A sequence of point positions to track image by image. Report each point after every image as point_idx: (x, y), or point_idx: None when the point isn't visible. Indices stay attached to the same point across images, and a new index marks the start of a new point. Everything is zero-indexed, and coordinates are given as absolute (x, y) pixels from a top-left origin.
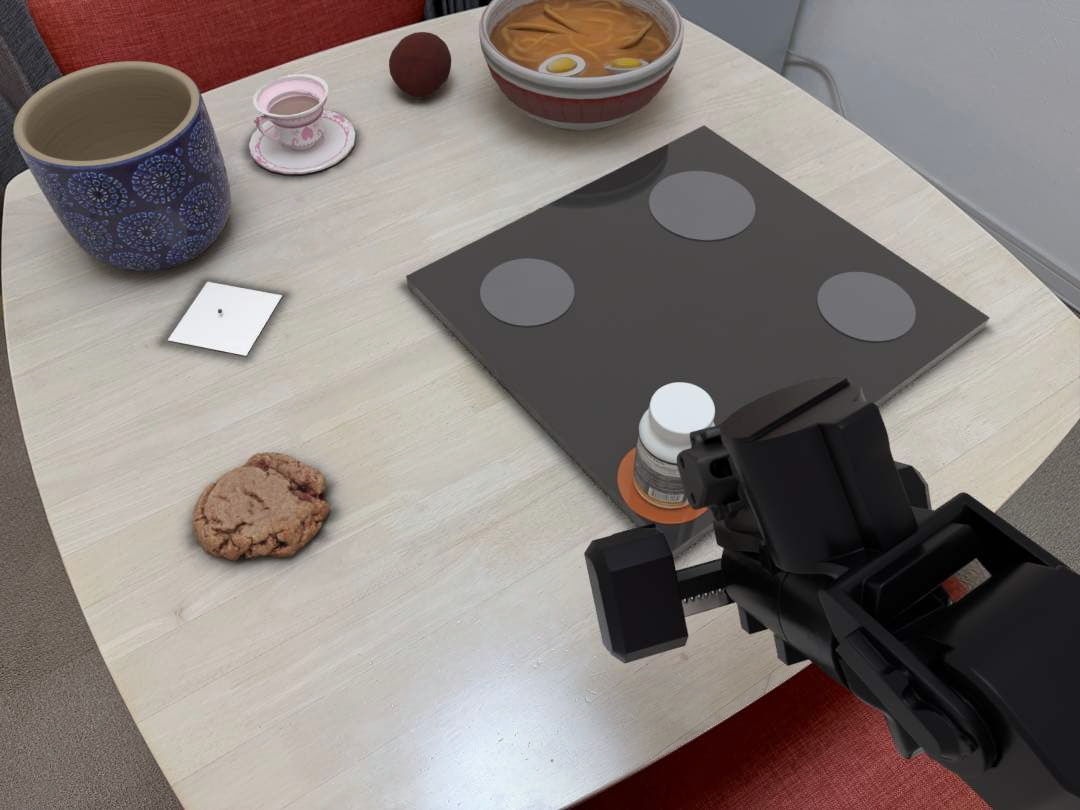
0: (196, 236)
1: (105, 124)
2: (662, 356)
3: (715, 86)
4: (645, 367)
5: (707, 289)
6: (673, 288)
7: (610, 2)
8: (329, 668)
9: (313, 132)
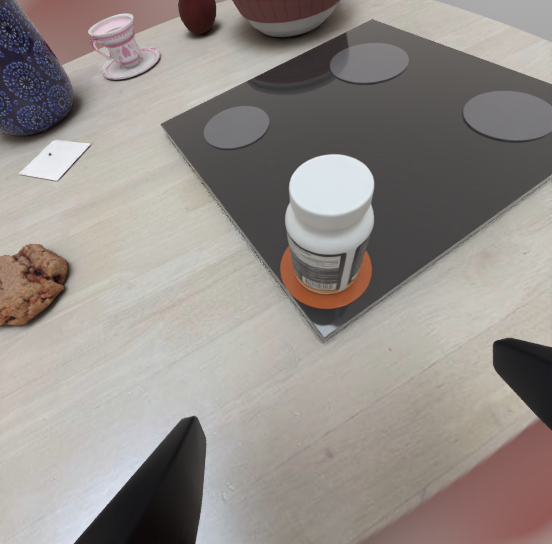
0: (33, 106)
1: None
2: None
3: (380, 4)
4: None
5: (369, 114)
6: (343, 116)
7: None
8: (17, 431)
9: (130, 51)
